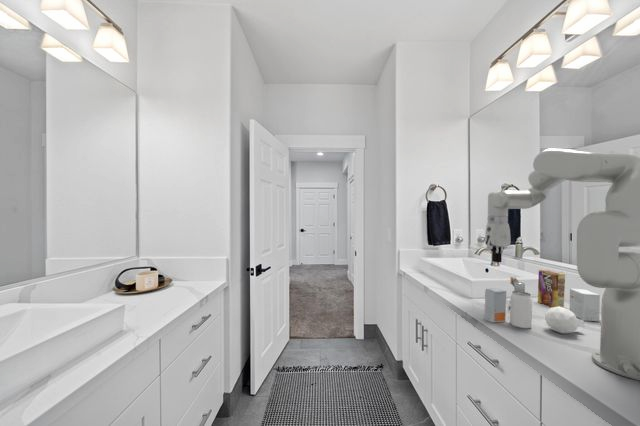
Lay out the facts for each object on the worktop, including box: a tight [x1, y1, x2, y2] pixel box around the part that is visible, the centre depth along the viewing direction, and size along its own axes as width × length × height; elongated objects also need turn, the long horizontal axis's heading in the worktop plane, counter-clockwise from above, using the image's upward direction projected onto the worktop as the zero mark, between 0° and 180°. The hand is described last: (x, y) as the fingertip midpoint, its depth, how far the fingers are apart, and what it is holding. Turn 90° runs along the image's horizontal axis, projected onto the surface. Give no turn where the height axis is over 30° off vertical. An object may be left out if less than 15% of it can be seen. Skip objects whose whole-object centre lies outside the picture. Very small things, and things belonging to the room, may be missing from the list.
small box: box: [569, 288, 601, 322], centre depth 112 cm, size 8×6×10 cm
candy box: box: [537, 269, 566, 308], centre depth 126 cm, size 9×4×15 cm, turn 13°
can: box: [509, 290, 533, 330], centre depth 103 cm, size 6×6×12 cm
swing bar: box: [509, 276, 526, 292], centre depth 125 cm, size 4×16×4 cm, turn 155°
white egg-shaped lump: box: [544, 306, 585, 335], centre depth 98 cm, size 9×9×12 cm
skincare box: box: [483, 287, 508, 324], centre depth 107 cm, size 6×4×12 cm
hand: (496, 261), depth 123 cm, fingers closed
